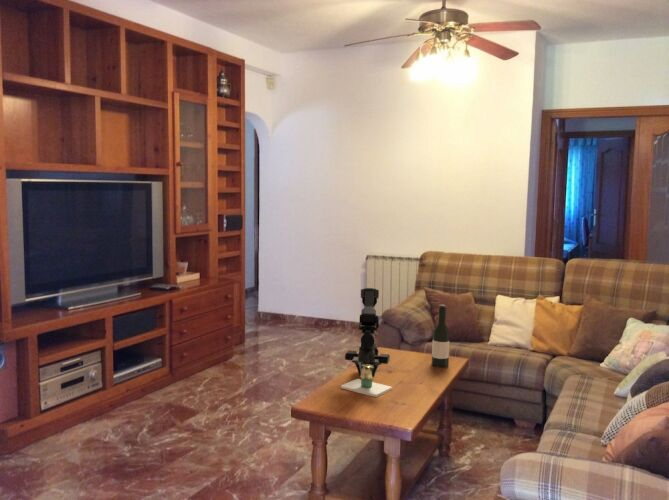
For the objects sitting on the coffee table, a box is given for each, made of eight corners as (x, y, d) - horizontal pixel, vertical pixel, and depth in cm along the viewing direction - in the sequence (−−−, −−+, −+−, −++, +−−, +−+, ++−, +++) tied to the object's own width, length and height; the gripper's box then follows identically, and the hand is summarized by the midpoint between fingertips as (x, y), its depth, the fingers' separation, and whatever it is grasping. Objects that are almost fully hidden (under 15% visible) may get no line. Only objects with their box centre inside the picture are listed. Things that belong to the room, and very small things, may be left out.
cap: (361, 374, 270) (362, 363, 269) (374, 376, 269) (374, 365, 268) (359, 378, 265) (359, 367, 264) (371, 380, 263) (372, 368, 263)
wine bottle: (449, 363, 307) (452, 304, 304) (447, 368, 300) (449, 307, 296) (433, 361, 310) (435, 302, 307) (430, 366, 302) (432, 305, 299)
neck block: (340, 388, 267) (341, 376, 267) (357, 380, 278) (357, 369, 277) (376, 397, 257) (376, 385, 256) (392, 389, 267) (392, 378, 267)
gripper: (342, 343, 260) (341, 379, 261) (385, 347, 255) (384, 384, 257) (348, 337, 270) (347, 372, 272) (390, 341, 265) (389, 376, 267)
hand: (366, 376), depth 267 cm, fingers closed on cap, 5 cm apart
